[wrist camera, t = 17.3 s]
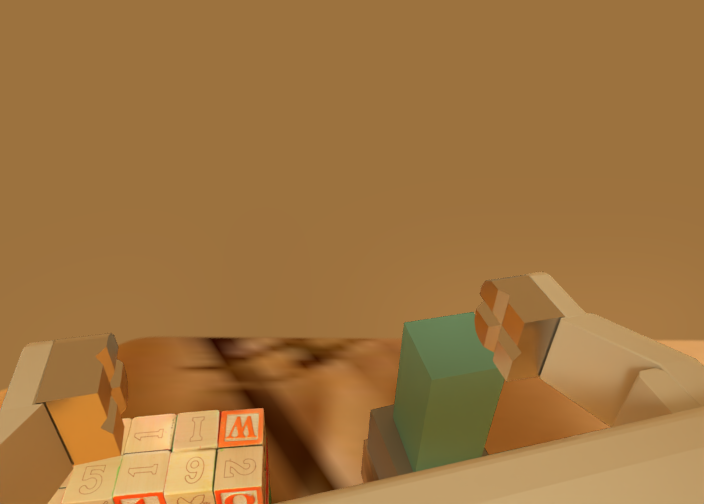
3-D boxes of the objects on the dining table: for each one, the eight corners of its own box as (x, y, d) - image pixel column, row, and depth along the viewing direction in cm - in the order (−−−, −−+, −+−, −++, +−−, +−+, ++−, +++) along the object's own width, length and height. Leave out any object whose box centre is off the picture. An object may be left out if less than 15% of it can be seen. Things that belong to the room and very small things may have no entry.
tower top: (482, 502, 39) (494, 465, 37) (398, 529, 38) (404, 491, 35) (442, 428, 45) (450, 390, 42) (367, 448, 43) (370, 409, 40)
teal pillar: (480, 461, 37) (508, 366, 31) (414, 475, 36) (431, 380, 30) (452, 405, 41) (473, 311, 35) (392, 417, 40) (404, 322, 34)
